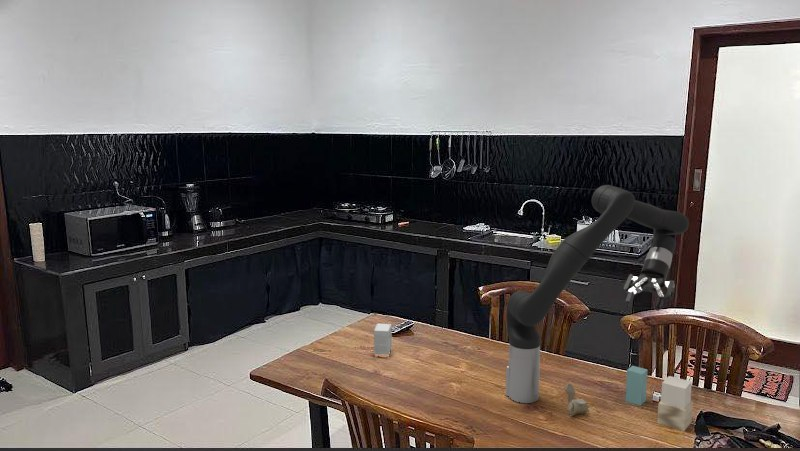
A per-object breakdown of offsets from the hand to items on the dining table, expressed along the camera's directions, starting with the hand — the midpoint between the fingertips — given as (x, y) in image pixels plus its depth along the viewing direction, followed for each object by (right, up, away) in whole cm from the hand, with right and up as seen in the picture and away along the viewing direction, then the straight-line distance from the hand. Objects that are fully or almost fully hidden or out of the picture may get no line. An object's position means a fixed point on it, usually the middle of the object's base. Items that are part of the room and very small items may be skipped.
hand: (642, 306), depth 176 cm
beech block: (+2, -30, -17) cm, 35 cm away
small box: (-82, -23, +36) cm, 93 cm away
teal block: (-4, -28, -4) cm, 29 cm away
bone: (-24, -30, -11) cm, 40 cm away
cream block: (+1, -24, -18) cm, 30 cm away
